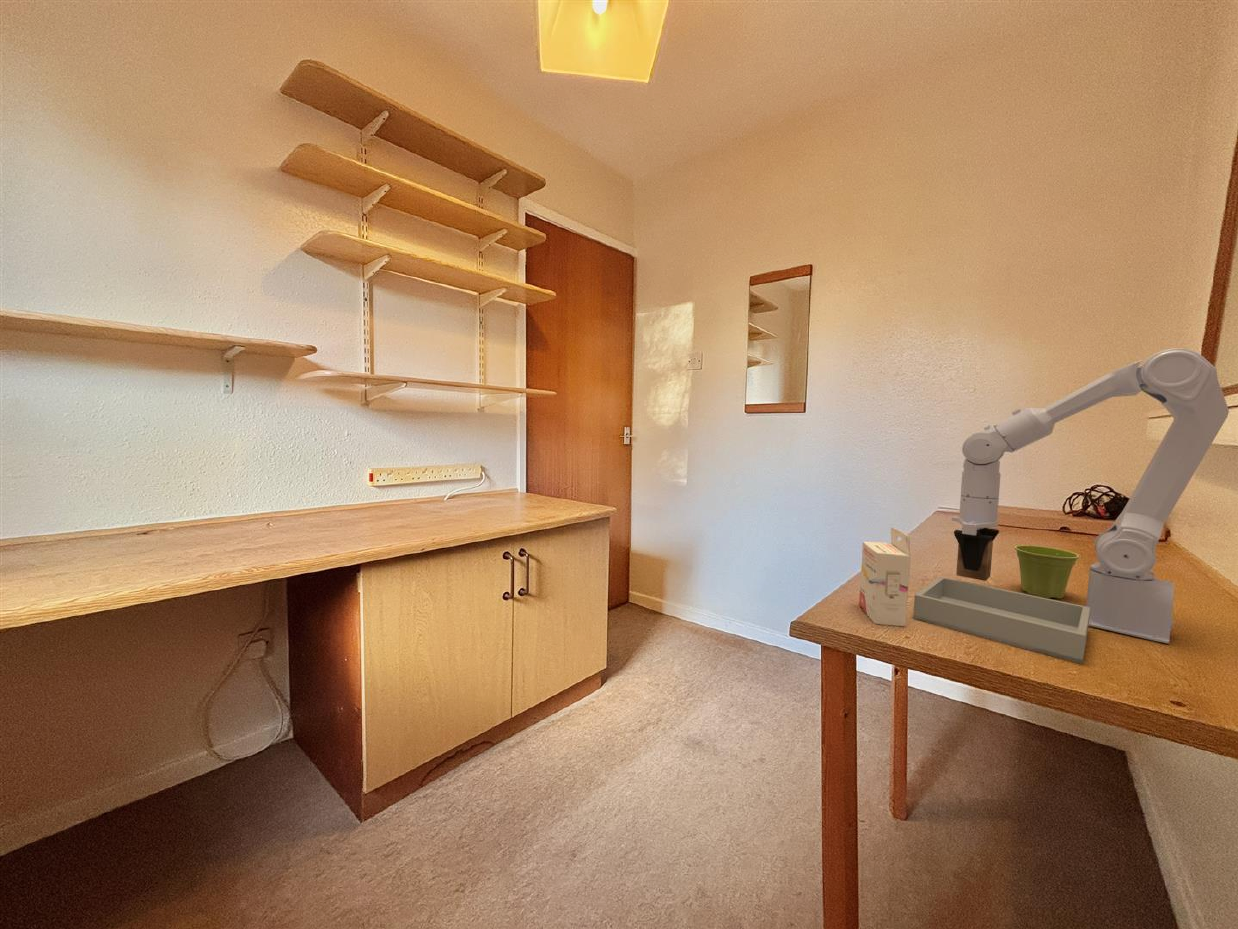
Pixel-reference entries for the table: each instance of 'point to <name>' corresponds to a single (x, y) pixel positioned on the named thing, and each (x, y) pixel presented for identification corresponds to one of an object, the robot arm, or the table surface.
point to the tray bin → (1006, 617)
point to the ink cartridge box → (886, 579)
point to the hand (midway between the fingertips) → (974, 567)
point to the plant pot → (1045, 570)
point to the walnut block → (984, 567)
